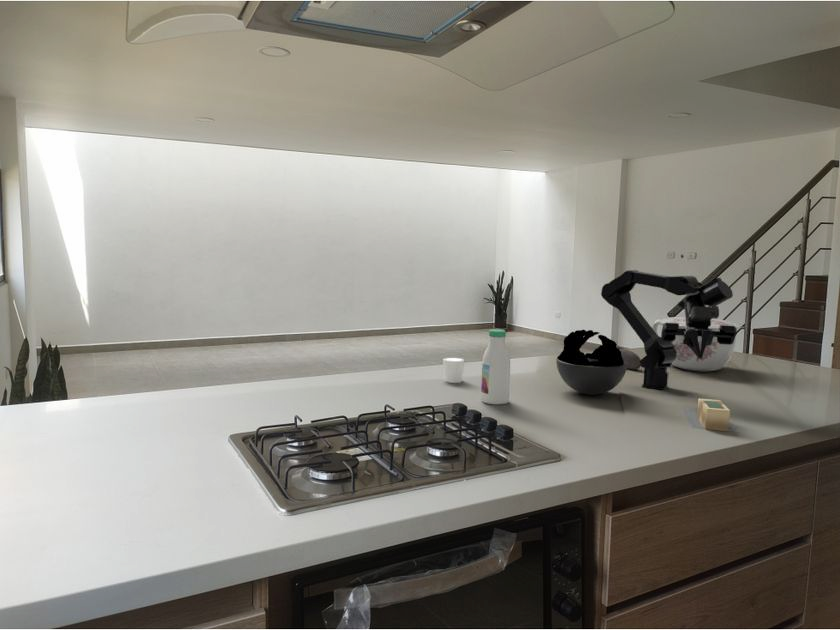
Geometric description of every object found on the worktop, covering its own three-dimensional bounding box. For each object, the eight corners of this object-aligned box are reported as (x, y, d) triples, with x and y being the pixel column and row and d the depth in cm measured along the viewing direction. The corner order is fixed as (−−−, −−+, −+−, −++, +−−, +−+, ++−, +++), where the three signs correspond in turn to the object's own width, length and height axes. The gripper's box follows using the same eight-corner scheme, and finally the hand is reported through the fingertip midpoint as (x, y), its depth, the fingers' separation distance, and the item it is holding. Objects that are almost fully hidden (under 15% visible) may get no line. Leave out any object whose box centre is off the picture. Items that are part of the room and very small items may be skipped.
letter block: (698, 398, 148) (706, 408, 139) (720, 399, 147) (729, 410, 137) (696, 417, 149) (705, 429, 139) (718, 419, 148) (728, 431, 138)
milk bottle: (511, 399, 164) (514, 329, 162) (506, 406, 157) (508, 332, 155) (484, 396, 167) (486, 327, 165) (478, 403, 160) (480, 331, 157)
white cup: (439, 381, 184) (439, 360, 183) (446, 377, 191) (447, 356, 190) (460, 384, 182) (460, 362, 181) (466, 379, 188) (467, 358, 187)
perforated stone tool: (645, 371, 207) (646, 352, 206) (634, 372, 205) (635, 353, 204) (615, 363, 221) (616, 345, 220) (604, 364, 218) (605, 346, 218)
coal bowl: (558, 383, 185) (561, 324, 183) (625, 389, 179) (629, 328, 177) (550, 398, 167) (553, 333, 164) (625, 406, 160) (629, 338, 158)
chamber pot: (753, 377, 201) (758, 317, 198) (673, 375, 201) (677, 315, 199) (713, 361, 228) (718, 308, 226) (643, 359, 229) (646, 307, 226)
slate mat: (681, 410, 157) (681, 409, 157) (722, 413, 154) (722, 412, 154) (693, 429, 140) (693, 427, 140) (739, 433, 138) (739, 431, 138)
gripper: (665, 294, 166) (668, 338, 156) (738, 296, 161) (745, 342, 151) (659, 318, 174) (662, 362, 165) (729, 321, 169) (735, 366, 160)
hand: (700, 357), depth 160 cm, fingers closed
